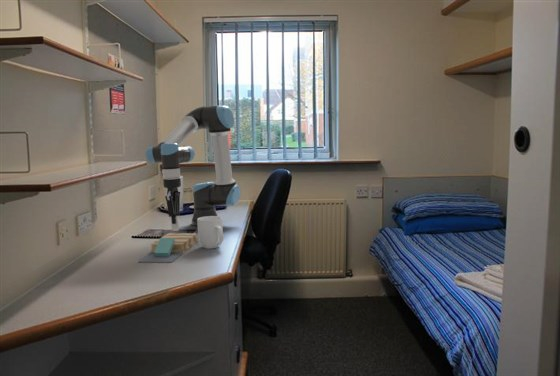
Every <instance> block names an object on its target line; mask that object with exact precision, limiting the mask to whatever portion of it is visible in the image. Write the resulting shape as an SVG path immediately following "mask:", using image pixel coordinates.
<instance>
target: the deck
mask: <svg viewBox="0 0 560 376" xmlns="http://www.w3.org/2000/svg"><path fill="white" fill-rule="evenodd" d="M161 238H174V240H175V243H174V245H173V248H172V250H171V252H183V254H184V253H185V252H187V251H188V250H189V249H191V247H193V246H194V245H195V244H197V243H198V233H167V234H165V235H163V236H162V237H161ZM159 240H160V238H158V239H157V240H156V241H153V242H152V243H151V244H150V249H151V252H155V249H156V247H157V245H158V242H159Z"/></svg>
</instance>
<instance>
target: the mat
mask: <svg viewBox="0 0 560 376" xmlns="http://www.w3.org/2000/svg"><path fill="white" fill-rule="evenodd" d="M183 254H184V253H183V252H171V253H170V255H169V256H155V254H154V252H152V251H151V252H150V253H148V254H147V255H146V256H144V257H143V258H141V259H140V260H138V261H137V263H148V264H149V263H151V264H152V263H153V264H154V263H157V264H158V263H159V264H160V263H166V264H167V263H168V264H170V263H171V264H172V263H174V262H175V260H177V259H178V258H179V257H180V256H182V255H183Z"/></svg>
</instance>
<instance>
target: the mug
mask: <svg viewBox="0 0 560 376" xmlns="http://www.w3.org/2000/svg"><path fill="white" fill-rule="evenodd" d="M196 227H197V236H198V239H199V242H200V244H201V246H202V248H203V249H207V250H208V249H210V250H211V249H216V248H218V247H219V246H220V245H221V244H222V243H223V242H224V231H223V217H221V216H218V215H217V216H205V217H200V218H198V219H197V226H196Z"/></svg>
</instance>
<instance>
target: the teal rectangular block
mask: <svg viewBox="0 0 560 376" xmlns="http://www.w3.org/2000/svg"><path fill="white" fill-rule="evenodd" d="M159 239H160V240H159V242H158V245H157V247H156V249H155V252H154V254H155V256H169V255H170V253H171V250H172V248H173V245H174V243H175V240H174V238H162V237H160V238H159Z"/></svg>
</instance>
